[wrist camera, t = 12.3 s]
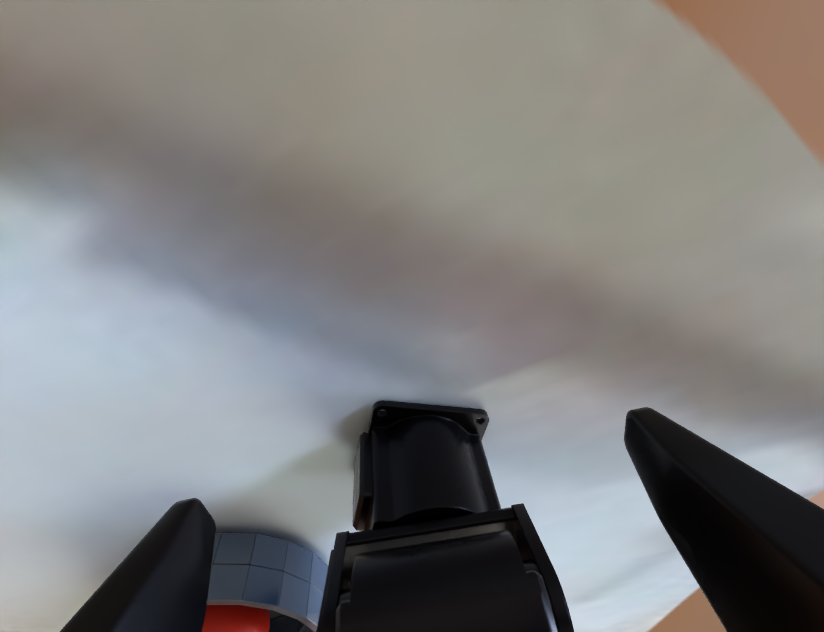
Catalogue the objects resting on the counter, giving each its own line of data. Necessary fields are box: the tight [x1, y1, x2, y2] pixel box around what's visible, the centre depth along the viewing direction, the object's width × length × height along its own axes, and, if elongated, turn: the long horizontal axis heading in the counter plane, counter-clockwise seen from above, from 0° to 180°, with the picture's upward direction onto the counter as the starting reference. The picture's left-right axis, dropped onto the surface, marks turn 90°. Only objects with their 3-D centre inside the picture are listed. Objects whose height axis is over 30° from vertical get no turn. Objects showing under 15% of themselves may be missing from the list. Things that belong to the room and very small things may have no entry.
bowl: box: [207, 533, 328, 632], centre depth 30 cm, size 13×13×4 cm
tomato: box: [202, 605, 270, 632], centre depth 29 cm, size 5×5×5 cm
